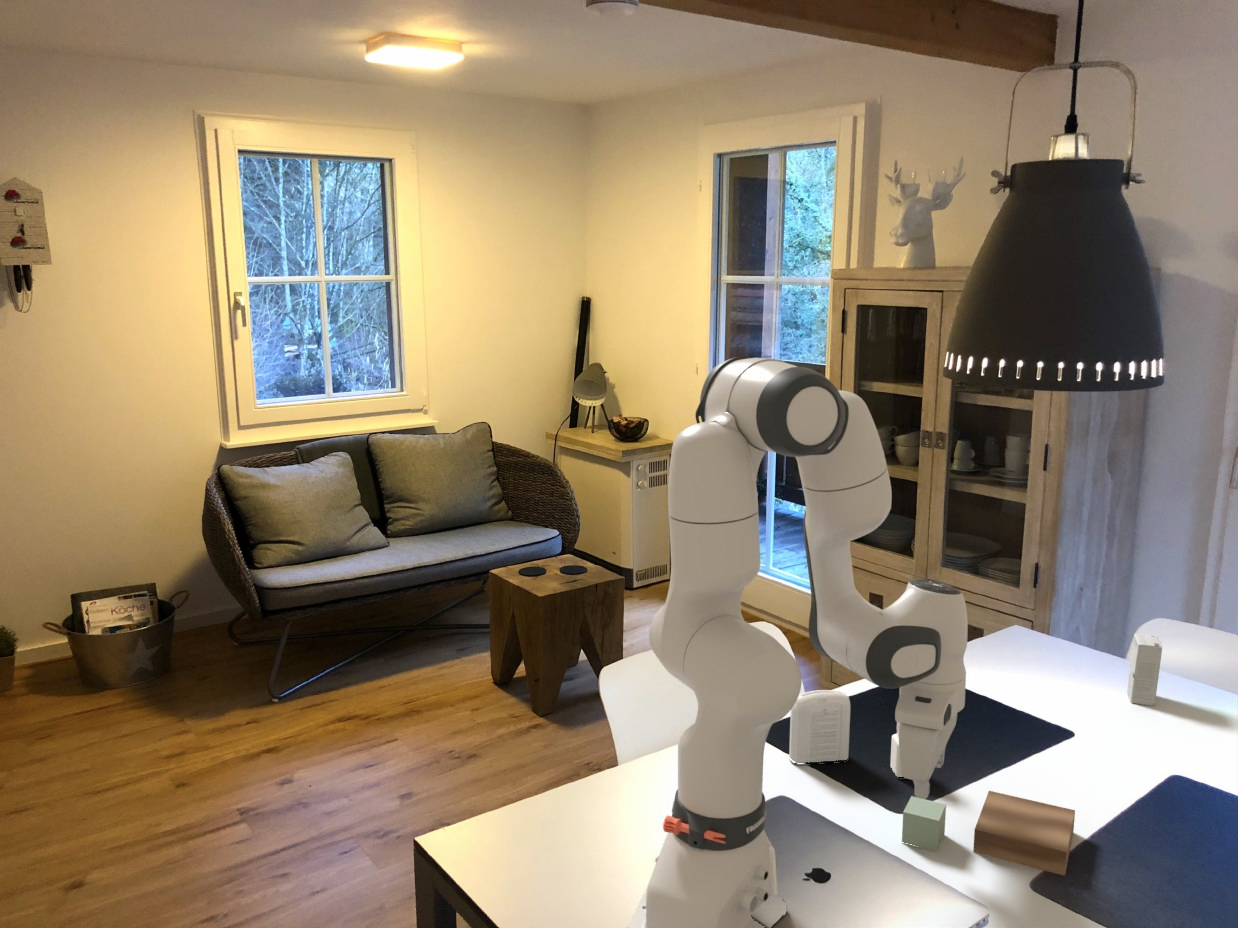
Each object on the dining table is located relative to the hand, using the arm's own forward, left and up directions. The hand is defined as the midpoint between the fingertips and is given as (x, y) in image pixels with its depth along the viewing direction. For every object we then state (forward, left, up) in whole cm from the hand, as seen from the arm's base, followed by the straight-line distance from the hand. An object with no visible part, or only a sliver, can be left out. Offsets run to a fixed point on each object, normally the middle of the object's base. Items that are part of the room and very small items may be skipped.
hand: (929, 779), depth 143 cm
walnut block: (+5, -13, -10) cm, 17 cm away
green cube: (-1, 0, -9) cm, 9 cm away
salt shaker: (+17, +7, -9) cm, 21 cm away
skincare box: (+68, -26, -9) cm, 73 cm away
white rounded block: (+15, +21, -9) cm, 28 cm away
